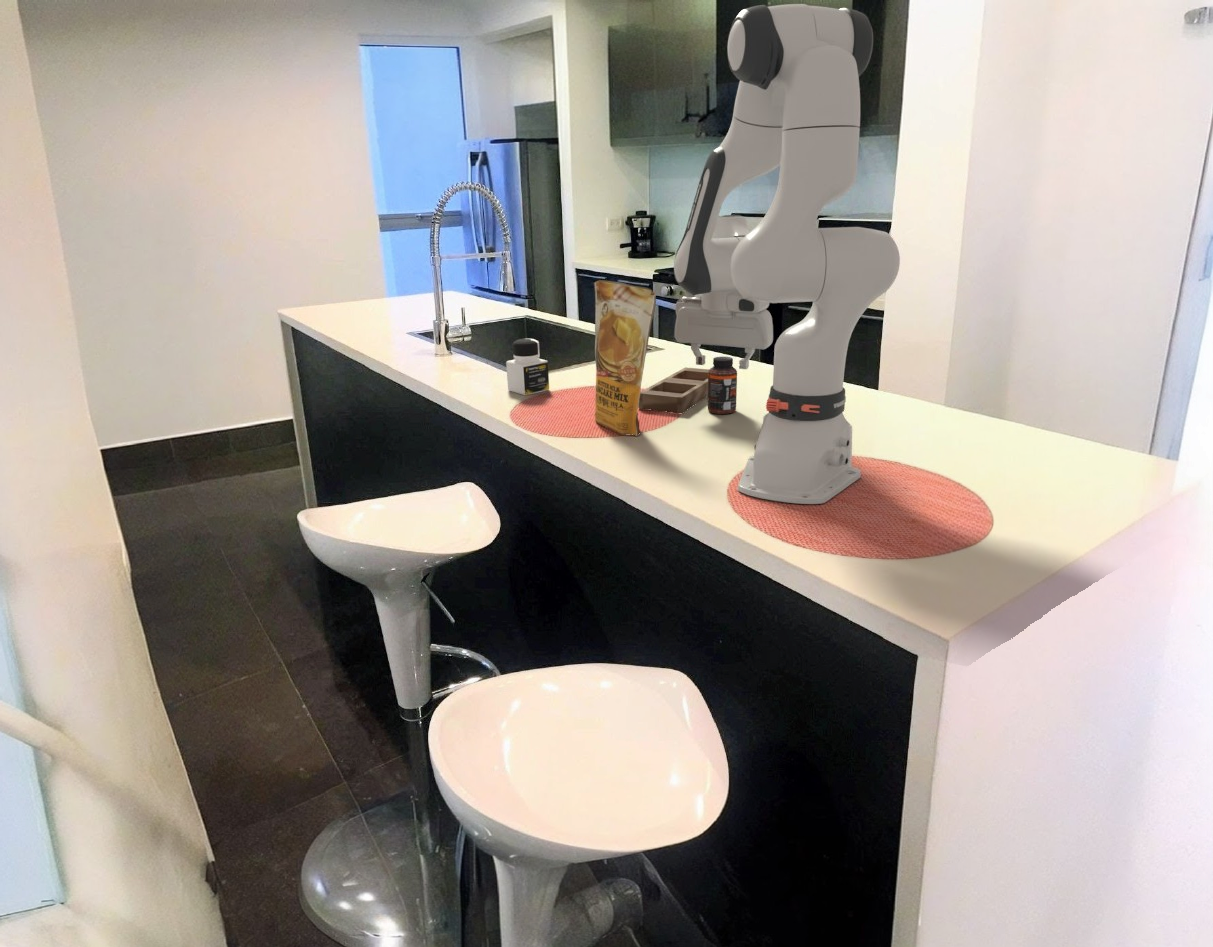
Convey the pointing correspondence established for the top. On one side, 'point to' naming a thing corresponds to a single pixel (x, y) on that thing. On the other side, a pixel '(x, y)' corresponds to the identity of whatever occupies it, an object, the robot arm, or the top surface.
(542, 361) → the medicine bottle
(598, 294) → the pancake mix bag
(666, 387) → the rail
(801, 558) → the top surface
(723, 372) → the supplement bottle
